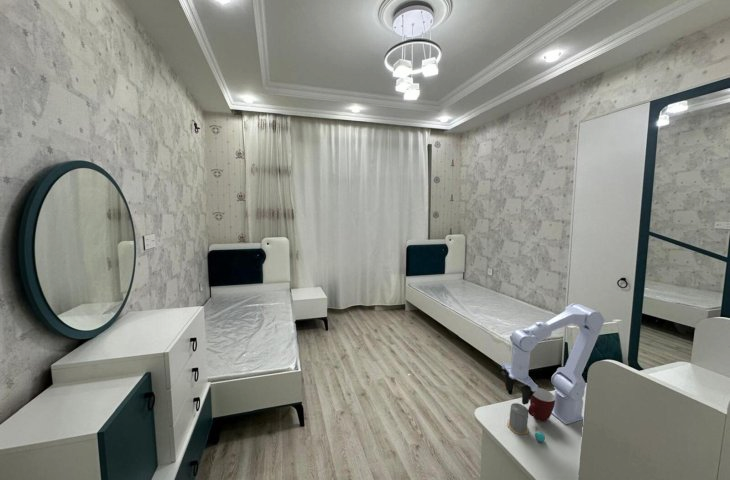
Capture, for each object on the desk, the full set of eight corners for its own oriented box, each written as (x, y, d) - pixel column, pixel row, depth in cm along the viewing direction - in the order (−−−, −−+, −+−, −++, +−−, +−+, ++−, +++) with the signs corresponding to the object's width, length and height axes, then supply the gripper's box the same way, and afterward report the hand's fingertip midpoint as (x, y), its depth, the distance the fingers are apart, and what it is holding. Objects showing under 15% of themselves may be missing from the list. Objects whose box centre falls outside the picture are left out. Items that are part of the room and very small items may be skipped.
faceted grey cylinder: (517, 418, 109) (519, 401, 108) (530, 429, 104) (532, 412, 103) (505, 421, 108) (507, 405, 107) (517, 433, 102) (519, 415, 101)
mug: (541, 432, 104) (544, 407, 102) (519, 417, 110) (522, 394, 109) (556, 420, 109) (559, 396, 108) (534, 407, 116) (537, 384, 115)
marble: (539, 436, 102) (540, 428, 102) (546, 443, 99) (547, 435, 99) (532, 438, 101) (533, 430, 101) (540, 445, 98) (541, 437, 98)
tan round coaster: (517, 418, 110) (517, 416, 110) (533, 432, 104) (533, 430, 104) (502, 422, 108) (503, 421, 108) (517, 436, 102) (518, 435, 102)
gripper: (496, 354, 112) (494, 386, 114) (528, 376, 98) (524, 412, 100) (511, 351, 114) (508, 383, 116) (544, 373, 101) (539, 408, 103)
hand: (516, 396), depth 108 cm, fingers open, 7 cm apart
